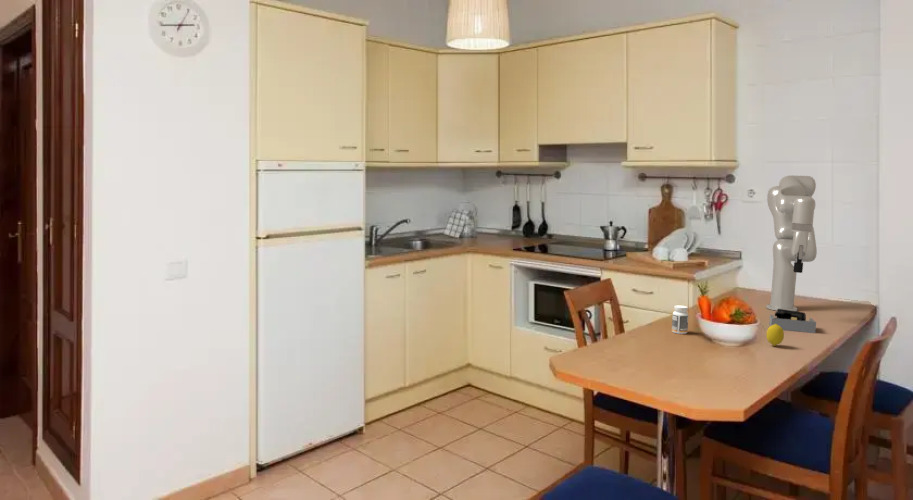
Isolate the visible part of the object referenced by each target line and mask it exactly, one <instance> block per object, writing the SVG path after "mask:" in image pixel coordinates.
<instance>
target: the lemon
mask: <svg viewBox="0 0 913 500" xmlns="http://www.w3.org/2000/svg"><path fill="white" fill-rule="evenodd" d="M784 332H785V331H784V330H783V329H782V328H781V327H780V326H779V325H777V324H774V325H772V326H770V325H769V327H768V328H767V330H766V336H765V337H766V340H767V341H768V343H770V344H771V345H772V346H773V347H776V346H777V345H780V344H782V343H783V341H784V337H785V333H784Z"/></svg>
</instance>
